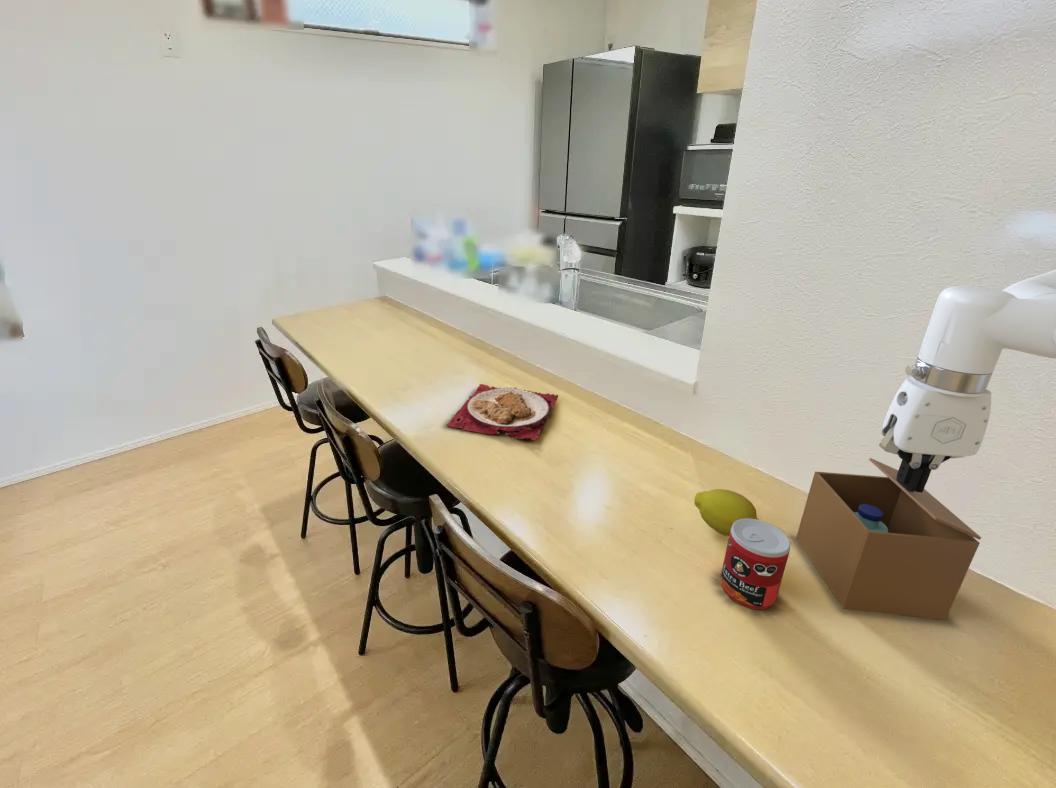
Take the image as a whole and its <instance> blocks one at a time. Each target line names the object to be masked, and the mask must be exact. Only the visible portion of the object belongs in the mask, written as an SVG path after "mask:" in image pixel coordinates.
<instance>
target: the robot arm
mask: <svg viewBox="0 0 1056 788" xmlns="http://www.w3.org/2000/svg"><path fill="white" fill-rule="evenodd" d="M1003 349H1005V350H1006V349H1007V350H1013V351H1017V352H1021V353H1026V354H1030V355H1034V356H1039V357H1043V358H1047V359H1048V358H1049V359H1056V269H1053V270H1050V271H1047V272H1043V273H1041V274H1038V275H1035V276H1031V277H1028V278H1025V279H1023V280H1020V281H1017V282H1016V283H1012V284H1011V285H1008V286H1007V287H1005V288H1003V289H1002V290H1000V289H996V288H990V287H983V286H975V285H954V286H949V287H946V288H944V289H943V290H942V291H940V293H939V295H938V296H937V299H936V302H935V304H934V308H933V310H932V313H931V316H930V319H929V322H928V325H927V329H926V331H925V334H924V337H923V339H922V343H921V346H920V348H919V352H918V355H917V356H916V357H917V358H916V360H915V363H914V364H913V365H907V366H905V369H904V372H905V374H906V375H907V376H910V377H906V378H905V379H904V380H903V382H902V383H901V385H900V387H899V388H898V389H897V391H896V393H895V395H894V396H893V399H892V401H891V402H890V405H889V407H888V409H887V413H886V415H885V417H884V420H883V422H882V427H881V435H882V436H883V438H882V439H881V440H880V442H879V444H878V446H879V448H880V449H882V450H883V451H884V452H886V453H890V454H893V455H897V457H898V458H900V459H901V461H900V465H899V467H898V469H897V470H898V473H897V478H896V479H897V481H898V482H899V483H900V484H901V485H902V486H903V487H904V488H906V489H907V490H908V491H909V492H914V491H916V492H921V493H922V492H923V490H924V489H925V488H926V484H927V483H928V481H929V477H930V476H931V472H932V471H936V470H938V469H939V468H940V466H941V464H943V463H945V462H947V461H948V460H950V459H960V458H965V457H971V456H975V455H976V454H977V453H978V452H979V450H980V448H981V446H982V443H983V440H984V437H985V435H986V431H987V428H988V424H989V419H990V415H991V410H992V392H991V391H990V390H989V389H987V388H988V386H989V383H990V381H991V378H992V375H993V373H994V371H995V368H996V366H997V364H998V361H999V359H1000V356H1001V354H1002V351H1003Z"/></svg>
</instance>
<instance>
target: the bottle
mask: <svg viewBox="0 0 1056 788" xmlns="http://www.w3.org/2000/svg"><path fill="white" fill-rule="evenodd" d="M854 513H855V514H856V516H857V517H858V518H859V519H860V520H861V521H862V522H863V523H864V525H865V526H866V527H867V528H868V529H869V530H870V531H876V532H886V533H888V528H887V527H886V525H885V524H884V523H883V522H881V520H882V518H883V515H884V514H883V512H882V511H881V510H880V509H878V508H877V507H875V506H872V505H868V504H861V505H859V508H858V512H854Z"/></svg>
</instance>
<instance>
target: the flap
mask: <svg viewBox="0 0 1056 788" xmlns="http://www.w3.org/2000/svg"><path fill="white" fill-rule="evenodd" d="M868 461H870V462H871V463H872V464H873V465H874V466H875V467H876V468H877V469H878V470H879V471H881V473H883V474H884V475H885V477H888V478H890V479H891V480H892V481H893V482H894V483H895V484H896V485H897V486H898V487H899V488H900V489H902V490H903V491H904V492H905V493H906V494H907V495H908V496H909V497H910V498H911V499H913V500H914V501H915V502H916V503H917V504H918V505H919V506H920V507H921V508H922V509H924V510H925V511H926V512H927V513H928V514H929V515H930V516H931V517H932V518H933V519H935V520H936V521H939V522H941V523H943V524H945V525H948V526H950V527H952V528H954V529H957V530H959V531H961V532H963V533H965V534H968V535H970V536H972V537H974V538H975V539H976V540H978V541H979V540H981V539H982V536H980V534H978V533H976V532H975V530H973V529H972V528H971V527H970V526H968V524H966V523H965V522H964V521H963V520H962V519H960V518H959V517H958V516H957V515H956V514H954V513H953V512H952V511H951V510H950V509H949V508H947V507H946V506H945V505H944V504H943V503H942V502H941V501H939V500H938V499H937V498H936V497H934V496H933V495H932V494H931V492H929V491H927V489H925V488H924V490H923V492H922V493H921V492H916V491H914V492H909V491H908V490H907V489H906V488H904V487H903V486H902V485H901V484H900V483H899V482H898V481H897V479H896V478H897V473H898V470H899V469H897V468H894V467H893V466H890V465H888V464H885V463H882V462H881V461H878V460H876V459H874V458H872V457H870V458H869V459H868Z"/></svg>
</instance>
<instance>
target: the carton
mask: <svg viewBox="0 0 1056 788" xmlns="http://www.w3.org/2000/svg"><path fill="white" fill-rule="evenodd" d="M861 504H868V505H872V506H875V507H877V508H878V509H880V510H881V511H882V512H883V514H884V515H883V518H882V520H881V522H883V523H884V524H885V525H886V527H887V528H888V533H886V532H876V531H870V530H869V529H868V528H867V527H866V526H865V525H864V523H863V522H862V521H861V520H860V519H859V518H858V517H857V516H856V514H855V513H854V512H858V508H859V505H861ZM795 540H796V541H797V543H798V544H799V546H800V547H801V549H802V550H803V552H804V553H805V555H806V556H807V558H808V559H809V561H810V562H811V564H812V565H813V566H814V568H815V569H816V571H817V573H818V574H819V575H820V577H821V578H822V580H823V581H824V583H825V584H826V586H827V588H828V589H829V591H830V592H831V593H832V595H833V597H834V598H835V599H836V601H837V602H838V603H839V605H840V606H841V608H842V609H846V610H851V611H853V610H854V611H862V612H869V613H879V614H880V613H881V614H888V615H889V614H890V615H897V616H905V617H914V618H922V619H930V620H940V621H946V620H947V618H948V616H949V613H950V611H951V609H952V606H953V605H954V603H955V600H956V597H957V595H958V593H959V591H960V589H961V586H962V584H963V582H964V579H965V578H966V575H967V573H968V570H969V568H970V566H971V564H972V562H973V559H974V557H975V555H976V553H977V551H978V548H979V546H980V544H981V543H980V541H979V540H978V539H977V538H974V537H972V536H970V535H968V534H965V533H963V532H961V531H959V530H957V529H954V528H952V527H950V526H948V525H945V524H943V523H941V522H939V521H936V520H935V519H933V518H932V517H931V516H930V515H929V514H928V513H927V512H926V511H925V510H924V509H922V508H921V507H920V506H919V505H918V504H917V503H916V502H915V501H914V500H913V499H911V498H910V497H909V496H908V495H907V494H906V493H905V492H904V491H903V490H902V489H900V488H899V487H898V486H897V485H896V484H895V483H894V482H893V481H892V480H891V479H890V478H888V477H887V476H878V475H868V474H867V475H865V474H852V473H841V472H826V471H814V473H813V477H812V481H811V484H810V486H809V491H808V495H807V499H806V501H805V506H804V509H803V513H802V516H801V519H800V523H799V526H798V530H797V533H796V537H795Z"/></svg>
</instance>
